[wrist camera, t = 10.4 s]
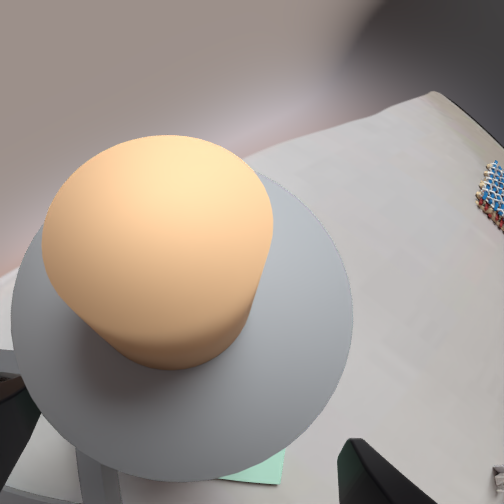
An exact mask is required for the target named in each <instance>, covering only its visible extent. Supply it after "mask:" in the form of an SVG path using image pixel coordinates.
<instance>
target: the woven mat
mask: <svg viewBox="0 0 504 504" xmlns="http://www.w3.org/2000/svg"><path fill="white" fill-rule="evenodd" d="M497 163H498V162H497V161H496V160H495V162H494V163H491V164H487V169H489V171H490V172H489V171H485V172H484V175H485V177H486V178H485V179H484V181H485V182H483V181H482V180H481V182H480V188H481V189H482V190H481V191H480V192H477V193H476V196H477V198H478V199H479V200H480V201H479V202H478V201H477V200H476V202H475V203H476V204H477V205H478V206H479V207H480V208H481V209H482V210H483V211H484V212H485V213H487V214H488V216H489V217H490V218H491V219H492V220H493V221H494V222H495V223H496V224H497V225H498V226H499V227H500V228H501V229H502V230H503V231H504V172H502V171H501V170H502V168H501V167H500V166H499V167H497ZM500 174H501V175H500ZM489 186H490V187H489ZM495 192H496V193H495ZM482 203H483V204H484V205H485V206H483V205H482ZM489 204H490V205H491V206H492V207H491V206H490V205H489ZM501 216H502V217H501ZM498 219H499V220H500V222H499V221H498Z"/></svg>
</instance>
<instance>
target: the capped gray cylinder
mask: <svg viewBox="0 0 504 504" xmlns="http://www.w3.org/2000/svg"><path fill="white" fill-rule="evenodd" d="M352 328H353V305H352V295H351V290H350V284H349V279H348V276H347V273H346V270H345V267H344V264H343V261H342V258H341V256H340V254H339V252H338V250H337V248H336V246H335V244H334V242H333V240H332V238H331V237H330V235H329V234H328V232H327V231H326V229H325V227H324V226H323V224H322V223H321V222H320V221H319V220H318V218H317V217H316V216H315V215H314V214H313V213H312V211H311V210H310V209H309V208H308V207H307V206H306V205H305V204H304V203H303V202H301V201H300V200H299V199H298V198H297V197H296V196H295V195H293V194H292V193H291V192H289V191H288V190H287V189H285V188H284V187H283V186H281V185H280V184H278V183H276V182H275V181H273V180H271V179H269V178H268V177H266V176H264V175H262V174H260V173H257V172H255V171H253V170H252V169H251V168H250V167H249V166H248V165H247V164H246V163H245V162H244V161H243V160H241V159H240V158H239V157H237V156H236V155H234V154H233V153H232V152H230V151H228V150H226V149H224V148H222V147H221V146H218V145H216V144H213V143H211V142H208V141H204V140H201V139H197V138H192V137H186V136H176V135H175V136H174V135H160V136H150V137H143V138H139V139H134V140H130V141H127V142H124V143H121V144H118V145H116V146H113V147H111V148H109V149H107V150H105V151H103V152H101V153H99V154H98V155H96V156H95V157H93V158H91V159H90V160H88V161H87V162H86V163H84V164H83V165H82V166H81V167H79V168H78V169H77V170H76V171H75V172H74V173H73V174H72V175H71V176H70V177H69V178H68V180H67V181H66V182H65V183H64V184H63V185H62V187H61V188H60V190H59V191H58V193H57V194H56V196H55V197H54V199H53V201H52V203H51V205H50V207H49V210H48V212H47V215H46V218H45V222H44V224H43V225H42V226H41V228H40V229H39V231H38V232H37V234H36V235H35V237H34V238H33V240H32V242H31V244H30V246H29V247H28V249H27V251H26V253H25V255H24V258H23V261H22V263H21V266H20V268H19V271H18V274H17V278H16V282H15V286H14V290H13V297H12V306H11V334H12V341H13V348H14V354H15V357H16V361H17V364H18V367H19V371H20V374H21V377H22V379H23V381H24V383H25V385H26V387H27V390H28V392H29V394H30V396H31V397H32V399H33V401H34V402H35V404H36V405H37V407H38V408H39V410H40V411H41V413H42V414H43V416H44V417H45V418H46V419H47V420H48V422H49V423H50V424H51V425H52V426H53V427H54V428H55V429H56V430H57V432H58V433H59V434H60V435H61V436H63V437H64V438H65V439H66V440H67V441H68V442H70V443H71V444H72V445H73V446H75V447H76V448H77V449H78V450H80V451H81V452H83V453H84V454H86V455H88V456H89V457H91V458H93V459H94V460H96V461H98V462H99V463H101V464H103V465H105V466H108V467H110V468H113V469H115V470H118V471H120V472H123V473H125V474H128V475H132V476H137V477H141V478H145V479H150V480H155V481H168V482H193V481H204V480H212V479H216V478H220V477H224V476H228V475H232V474H235V473H239V472H241V471H243V470H246V469H248V468H250V467H253V466H255V465H257V464H260V463H262V462H264V461H265V460H267V459H269V458H270V457H272V456H273V455H275V454H277V453H278V452H280V451H281V450H283V449H284V448H286V447H287V446H288V445H290V444H291V443H292V442H293V441H294V440H295V439H296V438H298V437H299V436H300V435H301V434H302V433H303V432H304V431H306V430H307V428H308V427H309V426H310V425H311V424H312V423H313V421H314V420H315V419H316V418H317V417H318V415H319V414H320V413H321V412H322V411H323V409H324V407H325V406H326V404H327V403H328V401H329V399H330V398H331V396H332V394H333V393H334V391H335V389H336V387H337V385H338V383H339V380H340V378H341V375H342V373H343V371H344V368H345V365H346V361H347V357H348V353H349V349H350V345H351V338H352Z"/></svg>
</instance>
